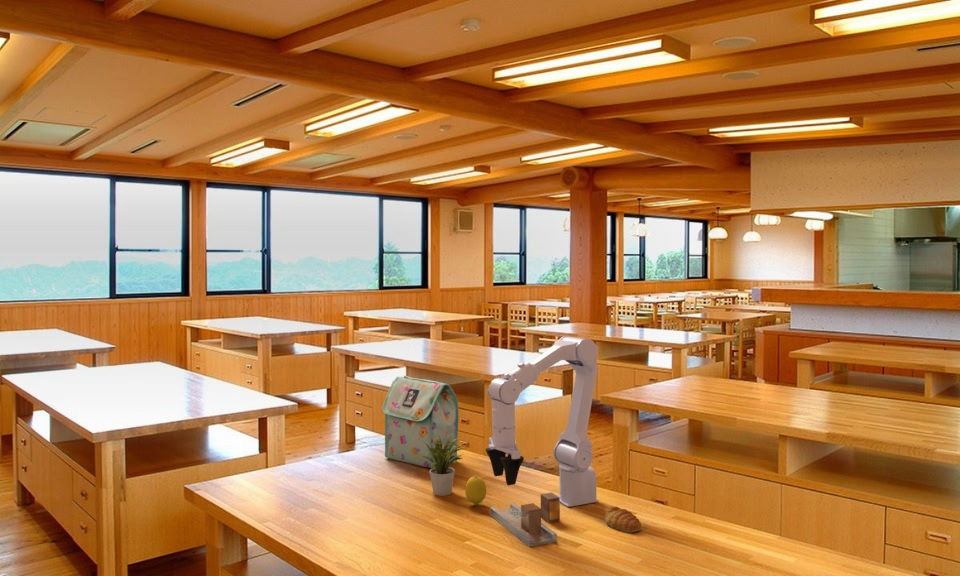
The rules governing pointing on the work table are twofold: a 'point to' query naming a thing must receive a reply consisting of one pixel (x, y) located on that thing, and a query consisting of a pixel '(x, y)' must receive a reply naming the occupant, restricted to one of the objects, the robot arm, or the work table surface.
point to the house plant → (442, 466)
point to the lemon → (475, 490)
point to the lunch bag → (419, 419)
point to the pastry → (622, 520)
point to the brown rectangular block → (550, 507)
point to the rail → (516, 528)
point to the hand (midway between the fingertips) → (504, 480)
